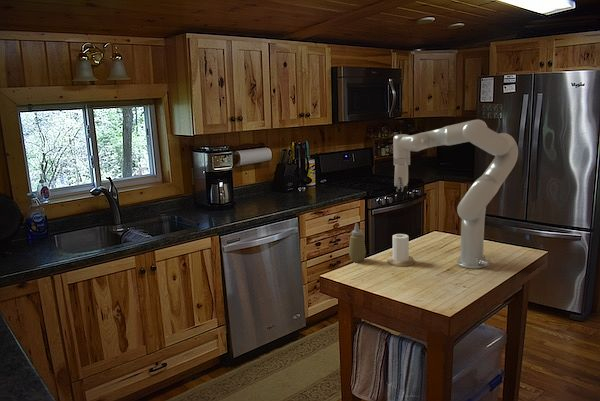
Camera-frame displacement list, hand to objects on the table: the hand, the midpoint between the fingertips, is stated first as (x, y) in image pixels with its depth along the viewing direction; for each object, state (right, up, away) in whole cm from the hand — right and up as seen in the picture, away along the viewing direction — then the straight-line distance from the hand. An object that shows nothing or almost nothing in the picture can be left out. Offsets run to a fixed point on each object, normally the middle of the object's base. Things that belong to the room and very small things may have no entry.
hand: (402, 197), depth 225 cm
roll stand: (-2, -30, -4) cm, 30 cm away
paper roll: (-2, -28, -4) cm, 29 cm away
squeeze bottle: (-21, -30, +1) cm, 36 cm away
